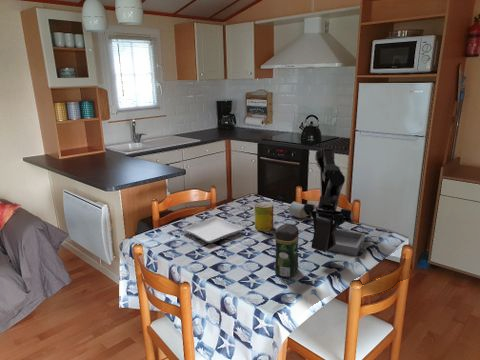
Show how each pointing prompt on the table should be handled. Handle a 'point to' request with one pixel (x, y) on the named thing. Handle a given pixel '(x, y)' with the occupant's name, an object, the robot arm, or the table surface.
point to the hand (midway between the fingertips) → (323, 232)
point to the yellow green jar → (264, 216)
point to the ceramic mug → (297, 210)
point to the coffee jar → (286, 250)
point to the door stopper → (323, 234)
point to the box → (348, 242)
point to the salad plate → (213, 229)
